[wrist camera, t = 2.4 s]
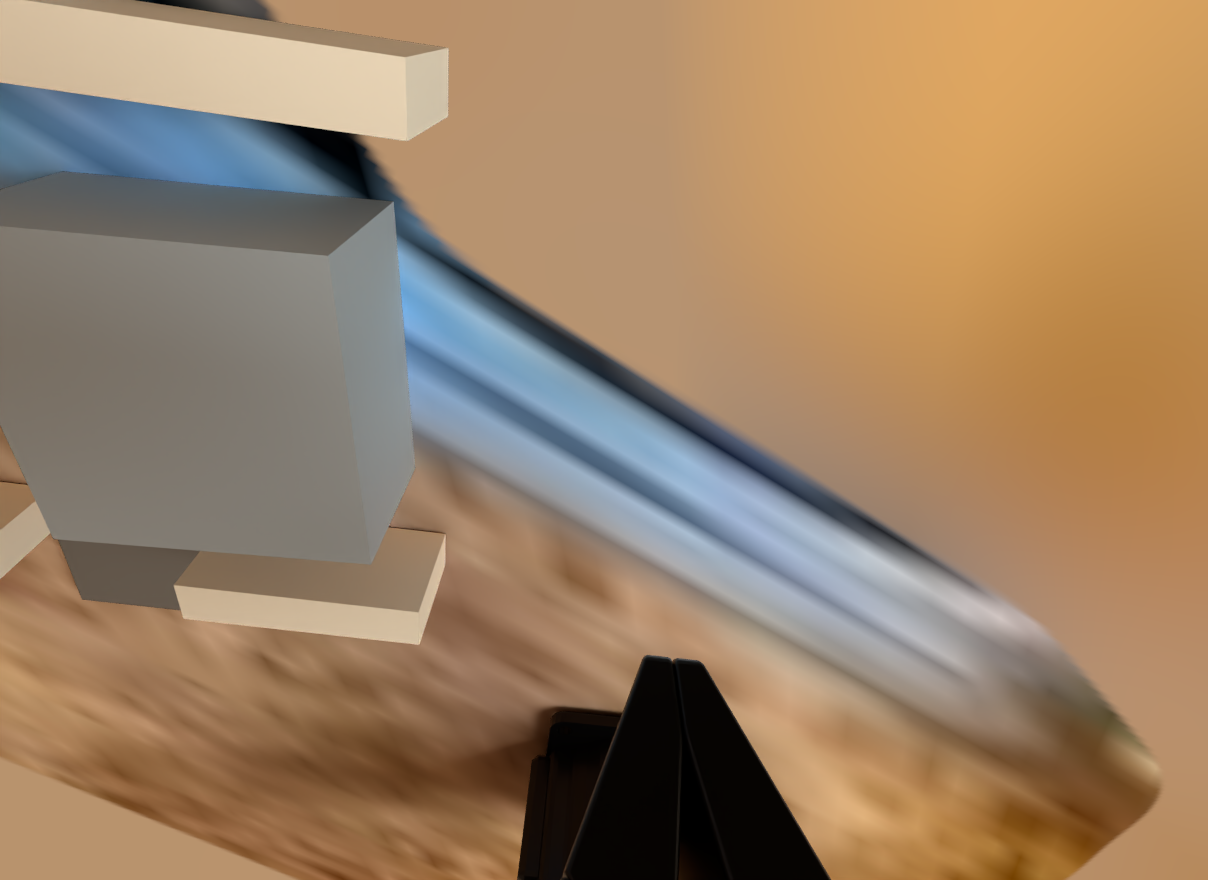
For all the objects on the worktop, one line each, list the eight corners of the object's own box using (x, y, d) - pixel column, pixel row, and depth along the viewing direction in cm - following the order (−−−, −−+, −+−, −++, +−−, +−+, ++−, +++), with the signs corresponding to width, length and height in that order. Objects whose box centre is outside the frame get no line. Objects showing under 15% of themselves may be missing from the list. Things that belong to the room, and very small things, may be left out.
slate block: (396, 198, 15) (328, 255, 11) (417, 463, 18) (371, 564, 15) (70, 169, 15) (-97, 217, 11) (158, 441, 18) (53, 539, 15)
